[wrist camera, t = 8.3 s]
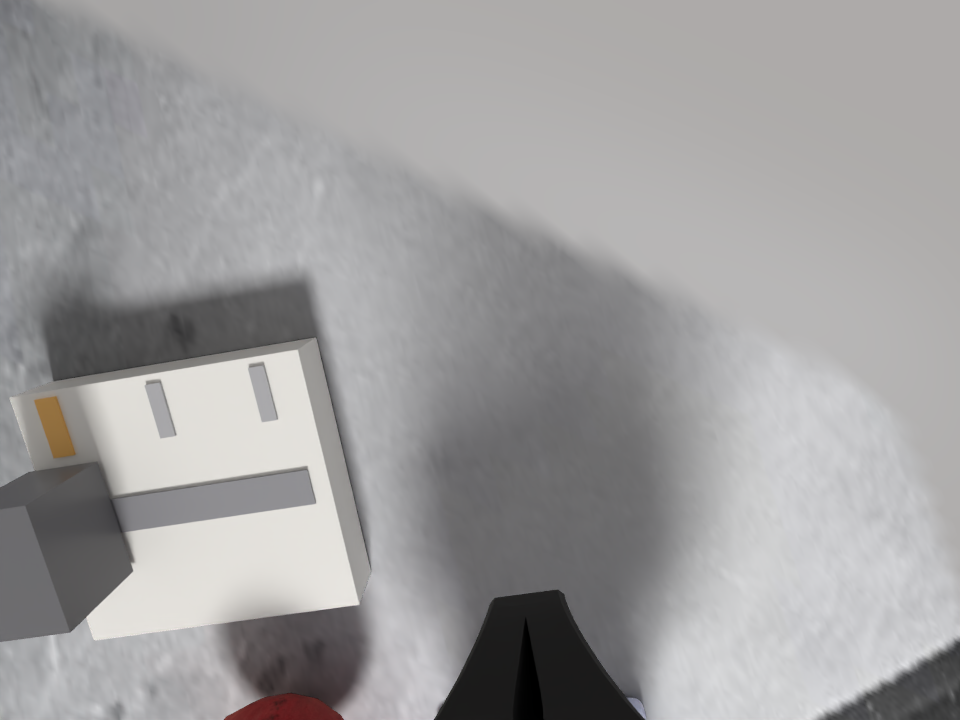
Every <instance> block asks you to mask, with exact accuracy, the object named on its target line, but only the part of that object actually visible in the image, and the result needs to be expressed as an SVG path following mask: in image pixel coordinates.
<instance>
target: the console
mask: <svg viewBox="0 0 960 720" xmlns="http://www.w3.org/2000/svg"><path fill="white" fill-rule="evenodd" d="M10 401H11V404H12V407H13V409H14V412H15V415H16V418H17V421H18V424H19V427H20V429H21V432H22V435H23V438H24V441H25V444H26V447H27V450H28V452H29V455H30V458H31V461H32V464H33V467H34V470H35V471H40V470H46V469H52V468H59V467H65V466H71V465H78V464H84V463H91V462H97V461H98V464H99V467H100V470H101V473H102V476H103V479H104V482H105V485H106V488H107V491H108V495H109V498H110V501H111V504H112V507H113V510H114V513H115V516H116V519H117V522H118V525H119V528H120V531H121V535H122V538H123V541H124V544H125V547H126V550H127V553H128V556H129V559H130V562H131V565H132V568H133V572H132V573H131V574H130V575H129V576H128V577H127V578H126V579H125V580H124V581H123V582H122V583H121V584H120V585H119V586H118V587H117V588H116V589H115V590H114V591H113V592H112V593H111V594H110V595H108V596H107V597H106V598H105V599H104V600H103V601H102V602H101V603H100V604H99V605H98V606H97V607H96V608H95V609H94V610H93V611H92V612H91V613H90V614H89V615H88V616H87V617H86V618H87V621H88V624H89V627H90V630H91V633H92V636H93V639H94V641H95V640H102V639H109V638H117V637H124V636H132V635H139V634H146V633H154V632H161V631H169V630H176V629H184V628H191V627H198V626H206V625H213V624H221V623H228V622H235V621H243V620H250V619H258V618H265V617H272V616H280V615H287V614H295V613H302V612H310V611H317V610H324V609H332V608H339V607H347V606H354V605H359V604H360V602H361V599H362V596H363V594H364V591H365V588H366V585H367V583H368V580H369V577H370V575H371V569H370V565H369V561H368V556H367V552H366V548H365V543H364V539H363V535H362V531H361V526H360V522H359V518H358V514H357V509H356V505H355V501H354V497H353V492H352V488H351V484H350V479H349V475H348V471H347V467H346V462H345V458H344V454H343V450H342V445H341V441H340V437H339V433H338V428H337V424H336V420H335V416H334V411H333V407H332V403H331V398H330V394H329V390H328V386H327V381H326V377H325V373H324V369H323V364H322V360H321V356H320V352H319V347H318V343H317V339H316V337H315V338H309V339H303V340H297V341H291V342H285V343H279V344H273V345H267V346H261V347H255V348H249V349H243V350H237V351H232V352H226V353H220V354H214V355H208V356H202V357H196V358H190V359H184V360H178V361H172V362H166V363H160V364H154V365H148V366H142V367H136V368H130V369H124V370H118V371H112V372H106V373H100V374H94V375H88V376H82V377H77V378H71V379H65V380H59V381H53V382H50V383H47V384H45V385H42V386H39V387H36V388H34V389H31V390H28V391H26V392H23V393H20V394H18V395H15V396H12V397H10Z"/></svg>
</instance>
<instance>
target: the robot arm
mask: <svg viewBox="0 0 960 720" xmlns="http://www.w3.org/2000/svg"><path fill="white" fill-rule="evenodd" d="M434 720H646V715H645V711H644V707H643V704H642V703H641V702H640V701H639V700H638V699H635V698H626V697H625V695H624V694H623V693H622V692H621V690H620V689H619V688H618V686H617V685H616V684H615V682H614V681H613V680H612V679H611V677H610V676H609V675H608V673H607V672H606V670H605V669H604V668H603V666H602V665H601V663H600V662H599V660H598V659H597V657H596V656H595V654H594V653H593V651H592V650H591V648H590V647H589V645H588V643H587V642H586V640H585V639H584V637H583V635H582V633H581V632H580V630H579V628H578V626H577V624H576V623H575V621H574V619H573V617H572V615H571V612H570V610H569V608H568V605H567V602H566V600H565V595H564V594H563V593H562V592H560V591H559V590H551V591H544V592H536V593H528V594H521V595H513V596H506V597H498V598H494V600H493V601H492V602H491V603H490V605H489V609H488V612H487V615H486V617H485V620H484V623H483V625H482V628H481V630H480V633H479V635H478V637H477V639H476V642H475V644H474V646H473V648H472V651H471V653H470V655H469V657H468V659H467V661H466V663H465V665H464V667H463V669H462V671H461V673H460V675H459V677H458V679H457V681H456V683H455V684H454V686H453V688H452V690H451V691H450V693H449V695H448V697H447V698H446V700H445V702H444V704H443V705H442V707H441V709H440V711H439V712H438V714H437V716H436V717H435V719H434Z"/></svg>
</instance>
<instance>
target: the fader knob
mask: <svg viewBox="0 0 960 720" xmlns="http://www.w3.org/2000/svg"><path fill="white" fill-rule="evenodd" d="M132 572H133V568H132V565H131V562H130V559H129V556H128V553H127V550H126V547H125V544H124V541H123V538H122V535H121V531H120V528H119V525H118V522H117V519H116V516H115V513H114V510H113V507H112V504H111V501H110V498H109V495H108V491H107V488H106V485H105V482H104V479H103V476H102V473H101V470H100V467H99V464H98V461H97V462H91V463H84V464H78V465H71V466H65V467H59V468H52V469H46V470H40V471H33V472H28V473H26V474H24V475H23V476H21V477H19V478H17V479H15V480H13V481H12V482H10V483H8V484H6V485H4V486H2V487H1V488H0V642H3V641H11V640H18V639H25V638H33V637H40V636H47V635H55V634H62V633H69V632H71V631H72V630H73V629H74V628H75V627H76V626H77V625H78V624H80V623H81V622H82V621H83V620H84V619H85V618H86V617H87V616H88V615H89V614H90V613H91V612H92V611H93V610H94V609H95V608H96V607H97V606H98V605H99V604H100V603H101V602H102V601H103V600H104V599H105V598H106V597H107V596H108V595H110V594H111V593H112V592H113V591H114V590H115V589H116V588H117V587H118V586H119V585H120V584H121V583H122V582H123V581H124V580H125V579H126V578H127V577H128V576H129V575H130V574H131V573H132Z"/></svg>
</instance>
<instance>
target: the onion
mask: <svg viewBox="0 0 960 720" xmlns="http://www.w3.org/2000/svg"><path fill="white" fill-rule="evenodd" d="M224 720H344V719H343V718H342V716H341V715H340V714H338V713H337V712H336V711H334V710H333V709H331V708H330V707H329V706H327V705H326V704H324V703H323V702H322V701H320V700H319V699H317V698H312V697H307V696H303V695H298V694H293V693H287V694H281V695H275V696H270V697H264V698H262V699H260V700H258V701H255V702H253V703H251V704H249V705H247V706H245V707H244V708H242V709H240V710H238V711H236V712H234V713H232V714H231V715H229V716H227V717H226V718H225V719H224Z"/></svg>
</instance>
